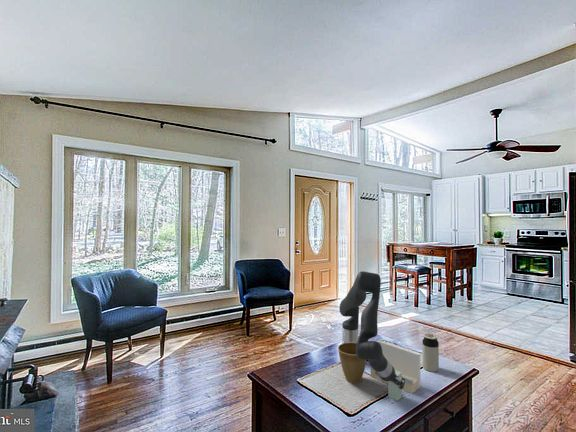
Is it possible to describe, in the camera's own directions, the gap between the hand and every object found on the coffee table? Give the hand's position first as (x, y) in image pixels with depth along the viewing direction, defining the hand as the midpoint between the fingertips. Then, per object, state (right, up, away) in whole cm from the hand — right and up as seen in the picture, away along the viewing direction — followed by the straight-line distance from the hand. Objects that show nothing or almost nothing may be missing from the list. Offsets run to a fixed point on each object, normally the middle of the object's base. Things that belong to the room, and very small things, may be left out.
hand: (396, 384), depth 145 cm
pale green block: (-1, -5, -1) cm, 5 cm away
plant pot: (-17, -5, +14) cm, 23 cm away
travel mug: (+27, -5, +24) cm, 36 cm away
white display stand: (+3, -5, +12) cm, 13 cm away
